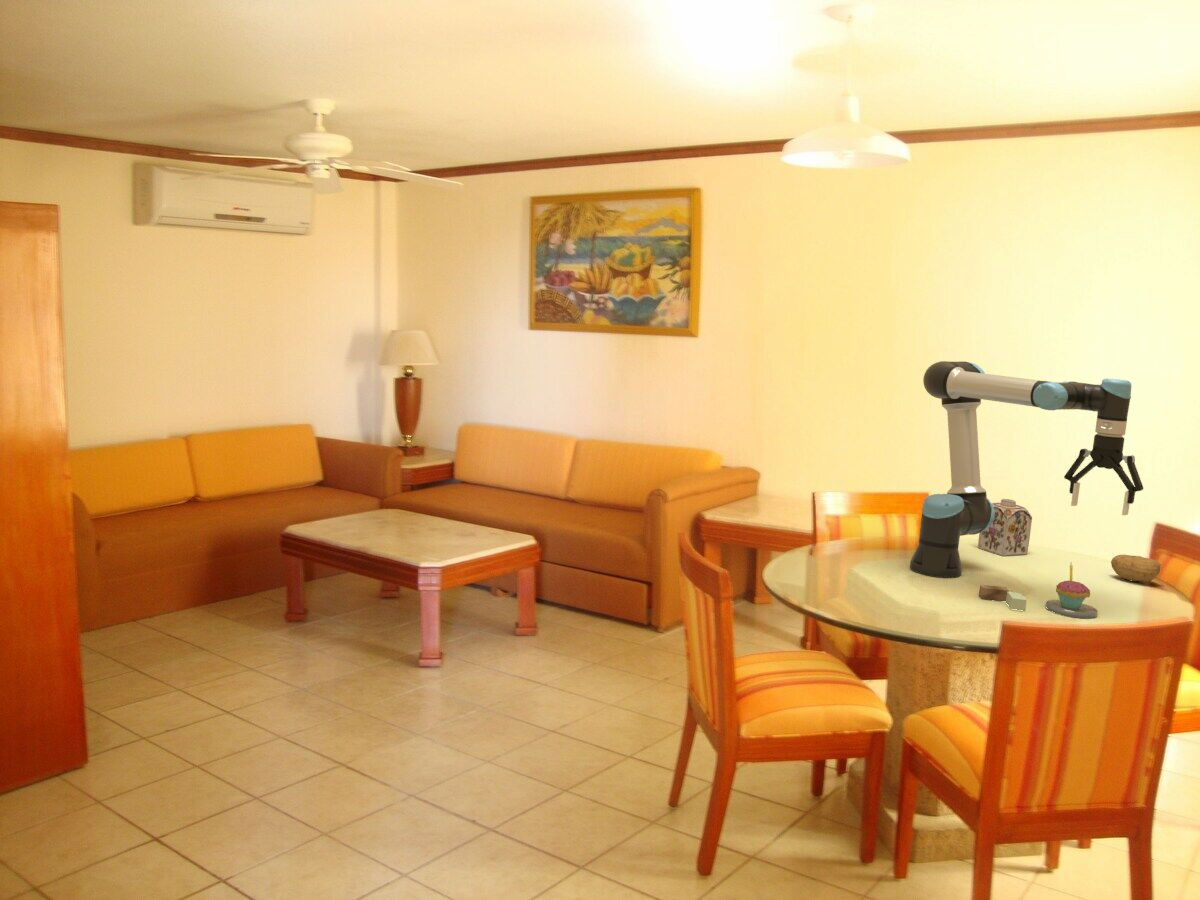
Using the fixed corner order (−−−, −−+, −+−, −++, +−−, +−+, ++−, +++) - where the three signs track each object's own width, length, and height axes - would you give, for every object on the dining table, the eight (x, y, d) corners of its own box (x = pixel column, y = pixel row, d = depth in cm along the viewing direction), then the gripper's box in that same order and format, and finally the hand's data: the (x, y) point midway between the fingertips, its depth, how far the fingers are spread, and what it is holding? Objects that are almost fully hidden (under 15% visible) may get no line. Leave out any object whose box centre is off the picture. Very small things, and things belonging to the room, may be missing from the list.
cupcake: (1046, 602, 282) (1052, 560, 281) (1070, 601, 285) (1076, 559, 284) (1070, 612, 274) (1076, 568, 273) (1095, 610, 277) (1101, 567, 276)
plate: (1044, 612, 277) (1045, 608, 276) (1045, 601, 288) (1046, 597, 288) (1097, 621, 271) (1098, 617, 271) (1096, 609, 283) (1096, 605, 283)
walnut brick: (981, 600, 286) (982, 588, 285) (978, 596, 289) (980, 584, 289) (1007, 602, 285) (1009, 590, 284) (1004, 599, 288) (1005, 587, 288)
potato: (1114, 573, 327) (1118, 549, 326) (1162, 584, 318) (1166, 559, 316) (1103, 578, 320) (1107, 553, 319) (1152, 589, 311) (1156, 563, 309)
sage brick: (1005, 603, 284) (1007, 591, 283) (1018, 605, 283) (1020, 592, 283) (1011, 610, 277) (1012, 598, 276) (1024, 612, 276) (1026, 599, 276)
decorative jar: (976, 548, 351) (982, 496, 348) (1001, 546, 356) (1007, 496, 353) (1003, 556, 340) (1010, 504, 338) (1028, 555, 345) (1035, 503, 343)
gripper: (1058, 429, 289) (1048, 503, 292) (1154, 442, 272) (1142, 520, 275) (1068, 428, 294) (1058, 500, 297) (1162, 440, 277) (1151, 517, 280)
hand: (1099, 510), depth 286 cm, fingers open, 13 cm apart
